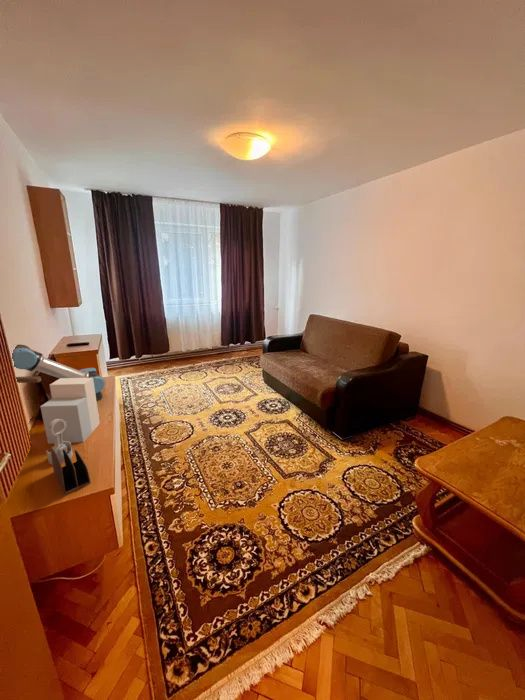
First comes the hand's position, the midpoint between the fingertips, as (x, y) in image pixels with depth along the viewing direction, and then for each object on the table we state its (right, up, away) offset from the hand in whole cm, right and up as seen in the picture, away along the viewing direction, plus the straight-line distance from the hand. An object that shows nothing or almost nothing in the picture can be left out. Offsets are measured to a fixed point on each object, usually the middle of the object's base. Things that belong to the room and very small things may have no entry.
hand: (5, 374), depth 146 cm
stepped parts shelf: (+25, -35, +17) cm, 46 cm away
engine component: (+32, -41, -4) cm, 52 cm away
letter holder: (+47, -45, -18) cm, 67 cm away
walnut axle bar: (+4, -4, +1) cm, 6 cm away
